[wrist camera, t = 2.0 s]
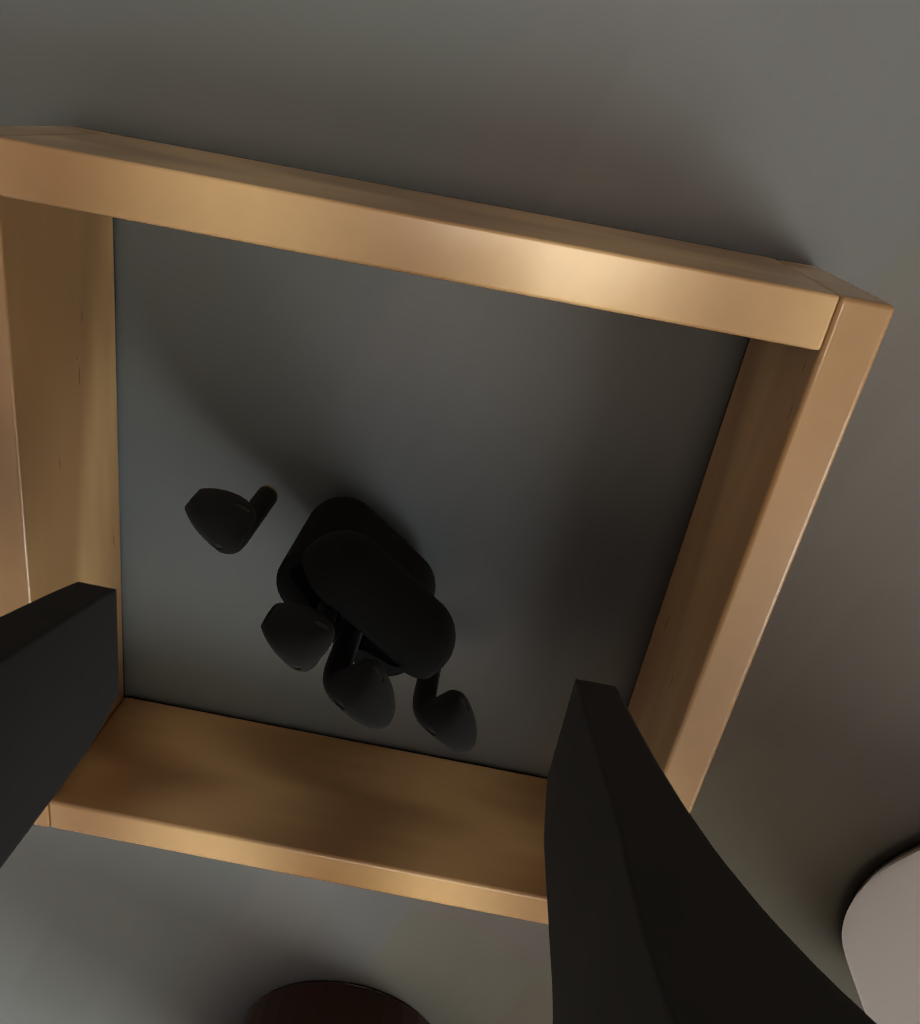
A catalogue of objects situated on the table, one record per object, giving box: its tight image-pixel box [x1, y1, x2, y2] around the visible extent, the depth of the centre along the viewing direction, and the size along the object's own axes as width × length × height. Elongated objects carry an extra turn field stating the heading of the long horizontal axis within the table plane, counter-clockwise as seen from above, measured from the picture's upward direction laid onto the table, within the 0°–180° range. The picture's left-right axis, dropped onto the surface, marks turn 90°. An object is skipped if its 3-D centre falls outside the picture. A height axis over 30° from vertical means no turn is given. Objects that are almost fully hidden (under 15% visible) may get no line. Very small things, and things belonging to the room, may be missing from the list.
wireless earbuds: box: [185, 486, 477, 752], centre depth 15 cm, size 7×2×5 cm, turn 44°
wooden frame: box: [0, 126, 894, 925], centre depth 16 cm, size 14×14×4 cm
